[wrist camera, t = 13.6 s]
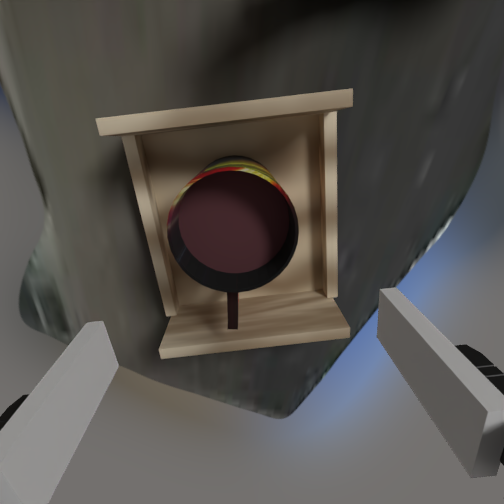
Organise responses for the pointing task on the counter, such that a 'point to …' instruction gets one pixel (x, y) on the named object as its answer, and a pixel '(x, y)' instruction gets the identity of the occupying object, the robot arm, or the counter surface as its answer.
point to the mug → (233, 228)
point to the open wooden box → (290, 179)
